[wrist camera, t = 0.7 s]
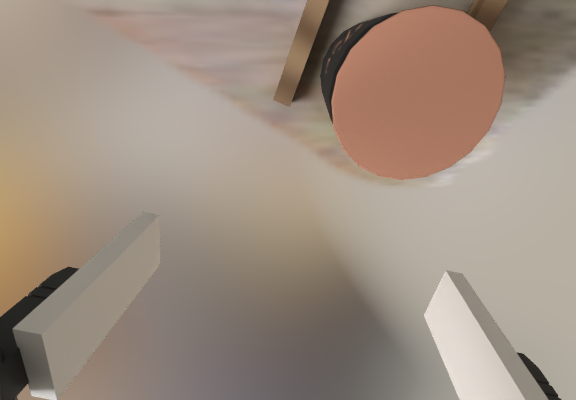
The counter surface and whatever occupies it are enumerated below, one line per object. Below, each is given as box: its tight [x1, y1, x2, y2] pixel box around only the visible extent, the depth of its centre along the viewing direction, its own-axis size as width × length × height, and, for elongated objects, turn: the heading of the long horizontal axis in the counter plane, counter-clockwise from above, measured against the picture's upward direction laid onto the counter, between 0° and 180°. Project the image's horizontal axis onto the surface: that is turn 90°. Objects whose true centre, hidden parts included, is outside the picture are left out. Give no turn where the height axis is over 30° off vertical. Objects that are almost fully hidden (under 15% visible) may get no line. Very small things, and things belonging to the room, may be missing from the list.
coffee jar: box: [320, 5, 505, 180], centre depth 28 cm, size 11×11×18 cm
